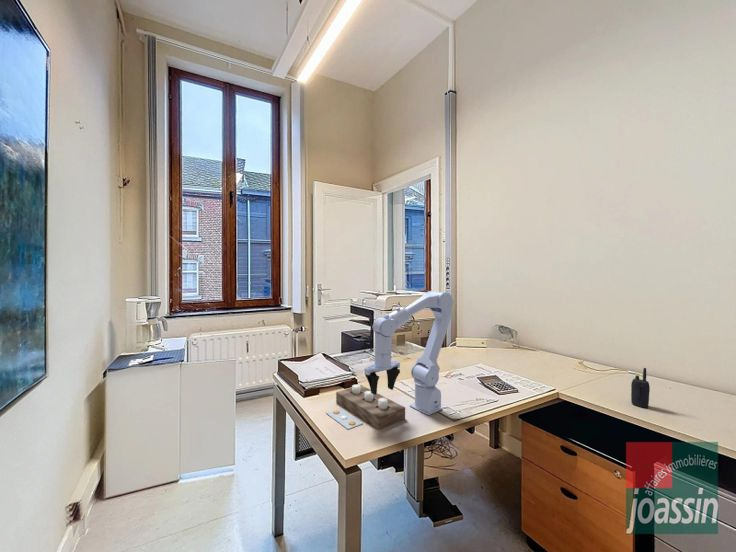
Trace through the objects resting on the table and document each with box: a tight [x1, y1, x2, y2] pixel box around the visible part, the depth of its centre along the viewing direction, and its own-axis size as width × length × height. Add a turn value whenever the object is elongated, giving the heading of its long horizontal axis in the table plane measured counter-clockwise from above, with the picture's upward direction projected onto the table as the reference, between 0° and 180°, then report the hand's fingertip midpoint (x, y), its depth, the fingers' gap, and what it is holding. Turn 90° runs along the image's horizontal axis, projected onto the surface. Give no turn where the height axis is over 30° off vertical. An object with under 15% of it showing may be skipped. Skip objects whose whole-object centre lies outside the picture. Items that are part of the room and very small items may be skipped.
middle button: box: [365, 391, 373, 402], centre depth 118 cm, size 3×3×4 cm
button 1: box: [351, 384, 361, 395], centre depth 124 cm, size 3×3×4 cm
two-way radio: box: [630, 367, 651, 409], centre depth 122 cm, size 6×4×15 cm
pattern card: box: [326, 408, 364, 430], centre depth 111 cm, size 14×6×1 cm, turn 38°
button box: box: [335, 384, 406, 430], centre depth 118 cm, size 26×12×4 cm, turn 38°
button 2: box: [378, 397, 387, 411], centre depth 112 cm, size 3×3×4 cm
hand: (382, 391), depth 112 cm, fingers open, 7 cm apart
